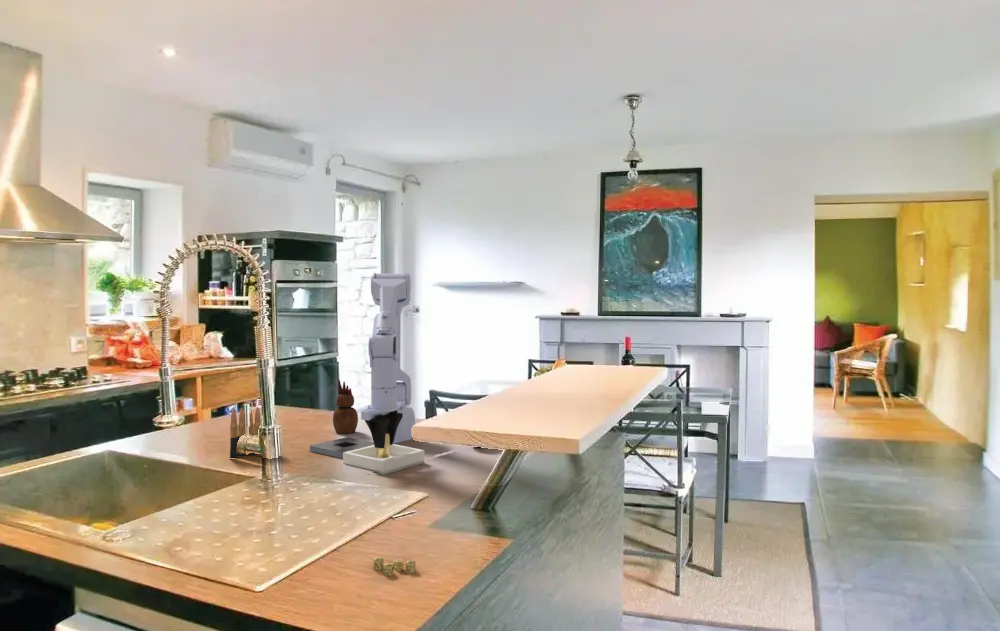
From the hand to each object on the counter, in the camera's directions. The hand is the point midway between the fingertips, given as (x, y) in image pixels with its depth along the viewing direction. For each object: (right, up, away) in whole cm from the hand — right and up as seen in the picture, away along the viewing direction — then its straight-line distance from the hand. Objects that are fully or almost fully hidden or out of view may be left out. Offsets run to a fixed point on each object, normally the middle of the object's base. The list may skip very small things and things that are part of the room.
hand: (384, 446), depth 163 cm
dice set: (+11, -8, -59) cm, 61 cm away
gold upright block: (0, -2, 0) cm, 3 cm away
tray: (0, -4, 0) cm, 4 cm away
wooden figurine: (-16, -3, +32) cm, 36 cm away
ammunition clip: (-32, -4, +7) cm, 33 cm away
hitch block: (-11, -4, +11) cm, 16 cm away
